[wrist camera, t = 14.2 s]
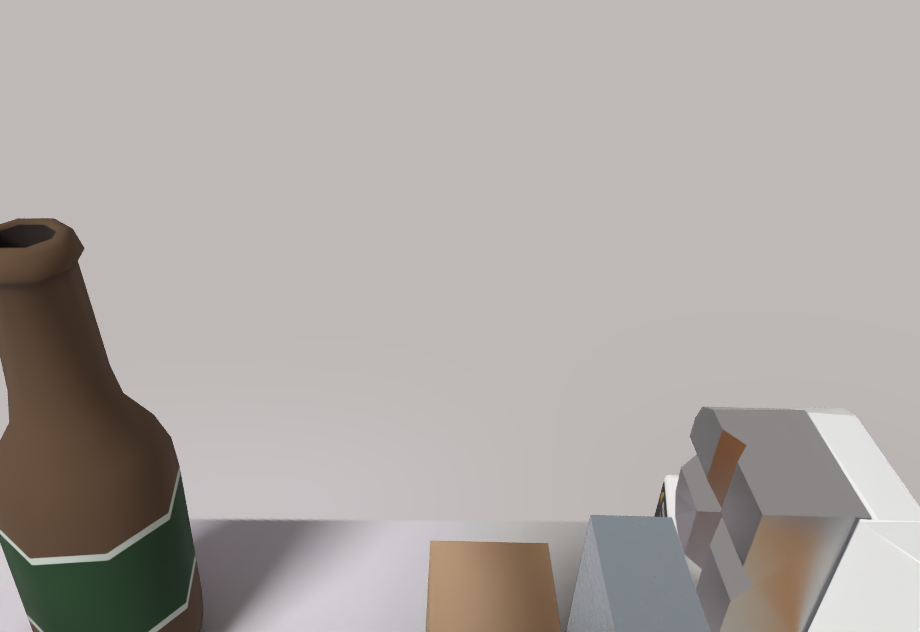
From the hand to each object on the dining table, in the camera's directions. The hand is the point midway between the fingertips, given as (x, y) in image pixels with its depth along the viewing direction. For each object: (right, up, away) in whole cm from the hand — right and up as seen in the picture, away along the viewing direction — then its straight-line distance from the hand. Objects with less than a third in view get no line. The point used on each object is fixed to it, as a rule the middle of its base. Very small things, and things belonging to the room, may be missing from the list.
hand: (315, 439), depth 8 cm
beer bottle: (-16, -16, +33) cm, 40 cm away
